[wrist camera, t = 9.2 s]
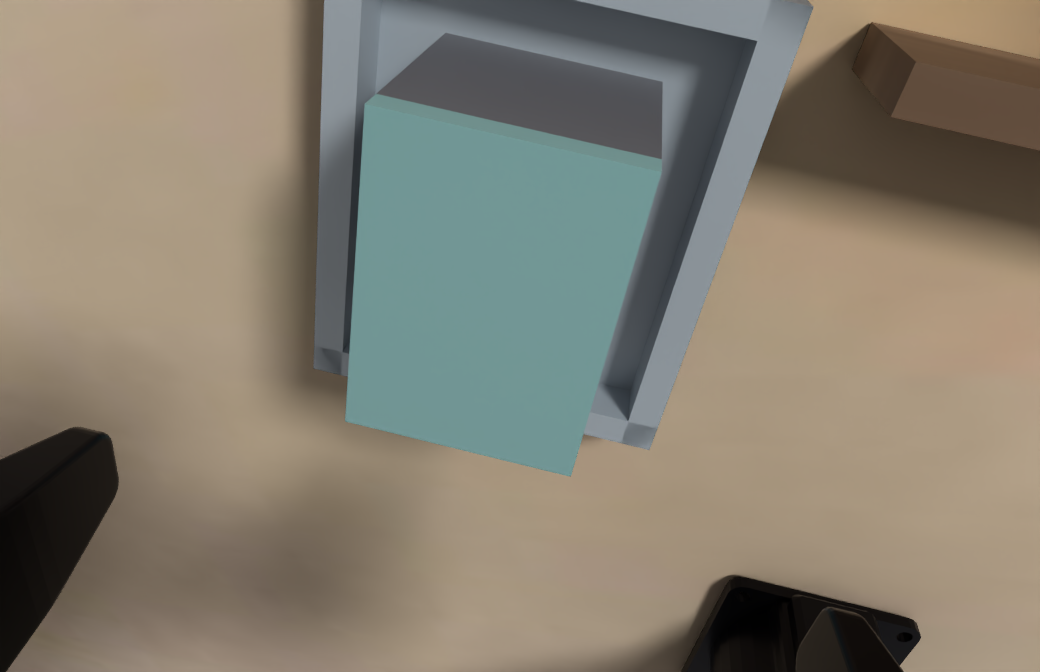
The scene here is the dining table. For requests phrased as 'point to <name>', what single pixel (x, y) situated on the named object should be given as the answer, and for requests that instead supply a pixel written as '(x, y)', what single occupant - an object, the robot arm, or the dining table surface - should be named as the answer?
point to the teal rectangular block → (496, 246)
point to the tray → (685, 152)
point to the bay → (952, 84)
